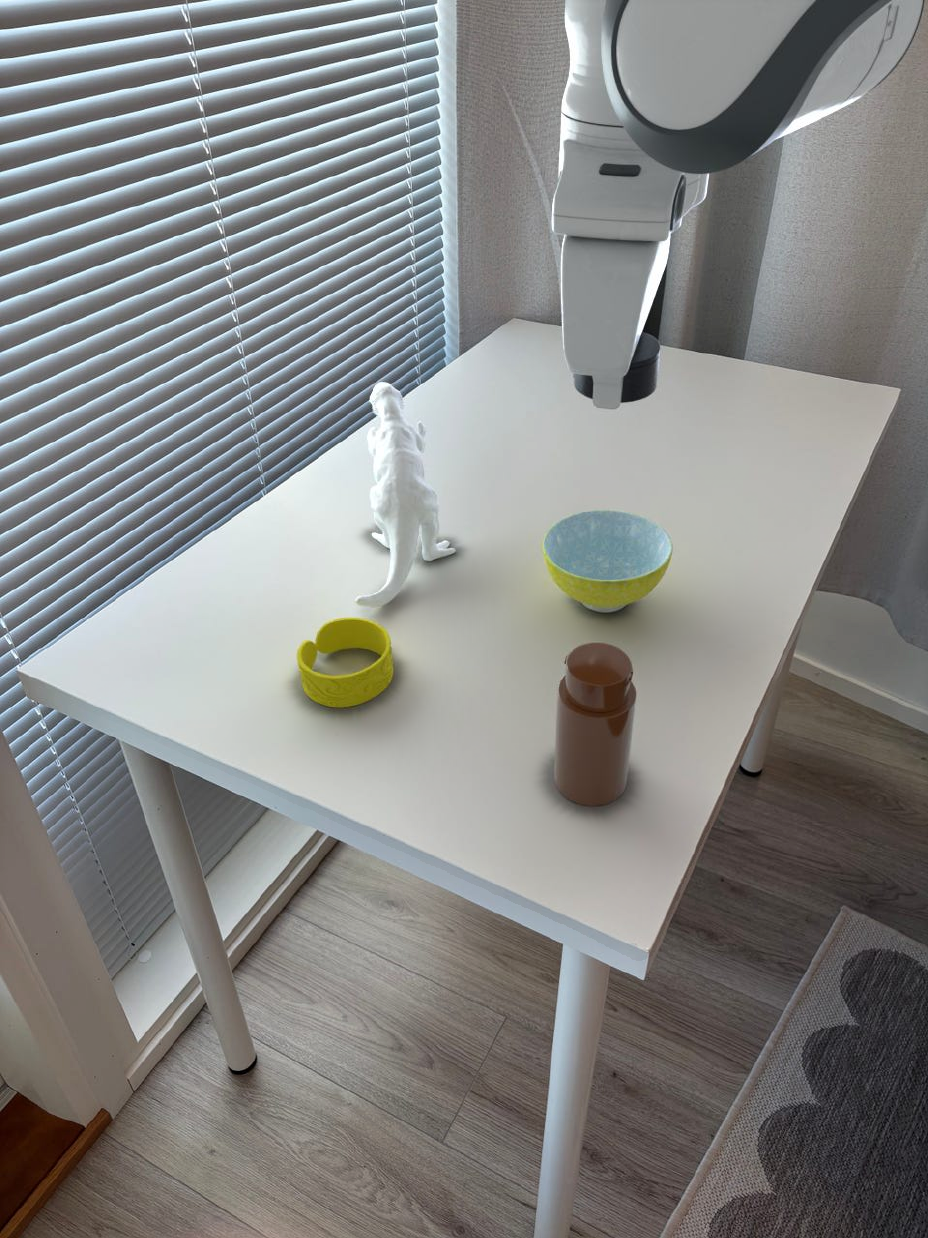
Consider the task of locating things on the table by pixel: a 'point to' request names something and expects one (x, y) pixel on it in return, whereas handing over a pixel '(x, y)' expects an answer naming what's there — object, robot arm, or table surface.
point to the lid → (632, 372)
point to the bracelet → (348, 686)
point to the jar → (594, 724)
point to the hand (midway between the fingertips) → (615, 381)
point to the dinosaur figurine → (400, 493)
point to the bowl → (606, 557)
